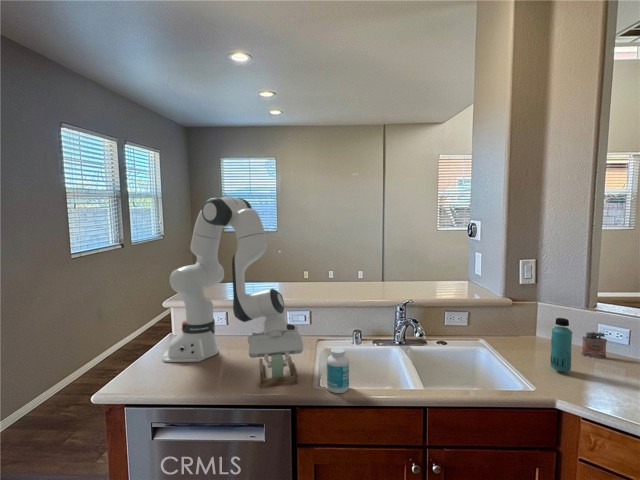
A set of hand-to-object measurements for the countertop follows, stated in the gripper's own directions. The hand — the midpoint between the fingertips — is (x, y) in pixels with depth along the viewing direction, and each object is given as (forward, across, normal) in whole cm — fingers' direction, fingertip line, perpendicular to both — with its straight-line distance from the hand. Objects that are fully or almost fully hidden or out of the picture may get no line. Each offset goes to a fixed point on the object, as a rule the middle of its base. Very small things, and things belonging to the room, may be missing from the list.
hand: (277, 366), depth 129 cm
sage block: (+3, 0, +4) cm, 5 cm away
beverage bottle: (+16, +102, -10) cm, 104 cm away
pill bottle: (+12, +20, -5) cm, 24 cm away
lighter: (+10, +128, -3) cm, 128 cm away
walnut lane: (0, 0, +6) cm, 7 cm away
